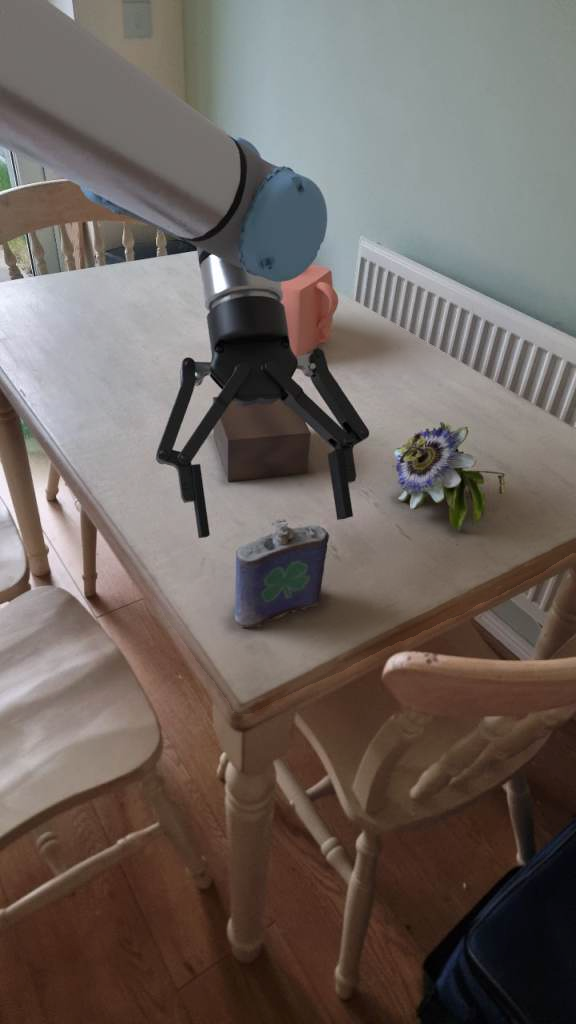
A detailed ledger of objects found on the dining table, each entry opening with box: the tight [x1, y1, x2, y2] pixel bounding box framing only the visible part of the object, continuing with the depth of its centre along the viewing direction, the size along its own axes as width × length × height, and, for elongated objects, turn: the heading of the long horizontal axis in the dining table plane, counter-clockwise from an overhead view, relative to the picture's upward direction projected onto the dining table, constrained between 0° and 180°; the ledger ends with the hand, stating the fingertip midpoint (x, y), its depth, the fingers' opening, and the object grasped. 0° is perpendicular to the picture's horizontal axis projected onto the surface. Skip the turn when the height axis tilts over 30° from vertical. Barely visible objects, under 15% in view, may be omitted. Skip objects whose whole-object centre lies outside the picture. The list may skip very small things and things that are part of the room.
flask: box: [234, 518, 330, 628], centre depth 65 cm, size 9×3×11 cm, turn 117°
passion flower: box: [393, 421, 506, 532], centre depth 81 cm, size 11×11×12 cm
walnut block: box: [212, 396, 312, 483], centre depth 86 cm, size 10×10×6 cm
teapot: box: [281, 263, 339, 356], centre depth 107 cm, size 20×19×14 cm
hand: (276, 527), depth 65 cm, fingers open, 13 cm apart
